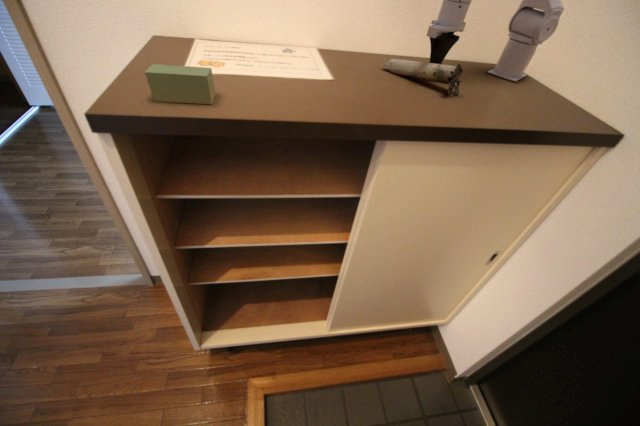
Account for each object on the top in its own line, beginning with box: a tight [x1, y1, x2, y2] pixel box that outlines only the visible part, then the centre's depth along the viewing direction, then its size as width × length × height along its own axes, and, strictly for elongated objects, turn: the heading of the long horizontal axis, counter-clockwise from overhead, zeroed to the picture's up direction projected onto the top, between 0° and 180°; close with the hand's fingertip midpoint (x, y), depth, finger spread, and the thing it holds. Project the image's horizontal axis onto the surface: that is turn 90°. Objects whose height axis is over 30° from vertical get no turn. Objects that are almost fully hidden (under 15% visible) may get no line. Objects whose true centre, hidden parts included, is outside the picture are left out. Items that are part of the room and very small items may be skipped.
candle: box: [382, 58, 464, 97], centre depth 69 cm, size 6×20×6 cm, turn 38°
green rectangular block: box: [144, 63, 216, 105], centre depth 51 cm, size 4×10×5 cm, turn 95°
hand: (433, 66), depth 72 cm, fingers closed
